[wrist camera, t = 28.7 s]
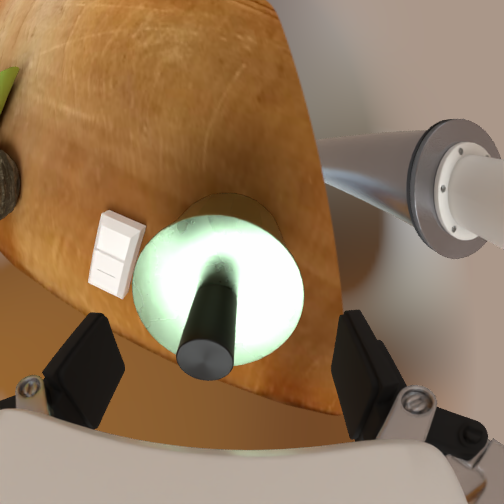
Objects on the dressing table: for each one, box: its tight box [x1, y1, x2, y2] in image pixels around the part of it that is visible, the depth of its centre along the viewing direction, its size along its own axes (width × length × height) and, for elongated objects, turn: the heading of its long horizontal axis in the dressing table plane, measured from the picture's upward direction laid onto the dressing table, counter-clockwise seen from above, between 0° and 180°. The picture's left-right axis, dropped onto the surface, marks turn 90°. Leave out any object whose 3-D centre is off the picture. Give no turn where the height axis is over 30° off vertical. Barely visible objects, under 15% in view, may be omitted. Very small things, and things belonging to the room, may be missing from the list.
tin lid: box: [132, 213, 304, 381], centre depth 17 cm, size 12×12×7 cm
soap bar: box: [88, 210, 146, 299], centre depth 29 cm, size 5×9×3 cm, turn 156°
